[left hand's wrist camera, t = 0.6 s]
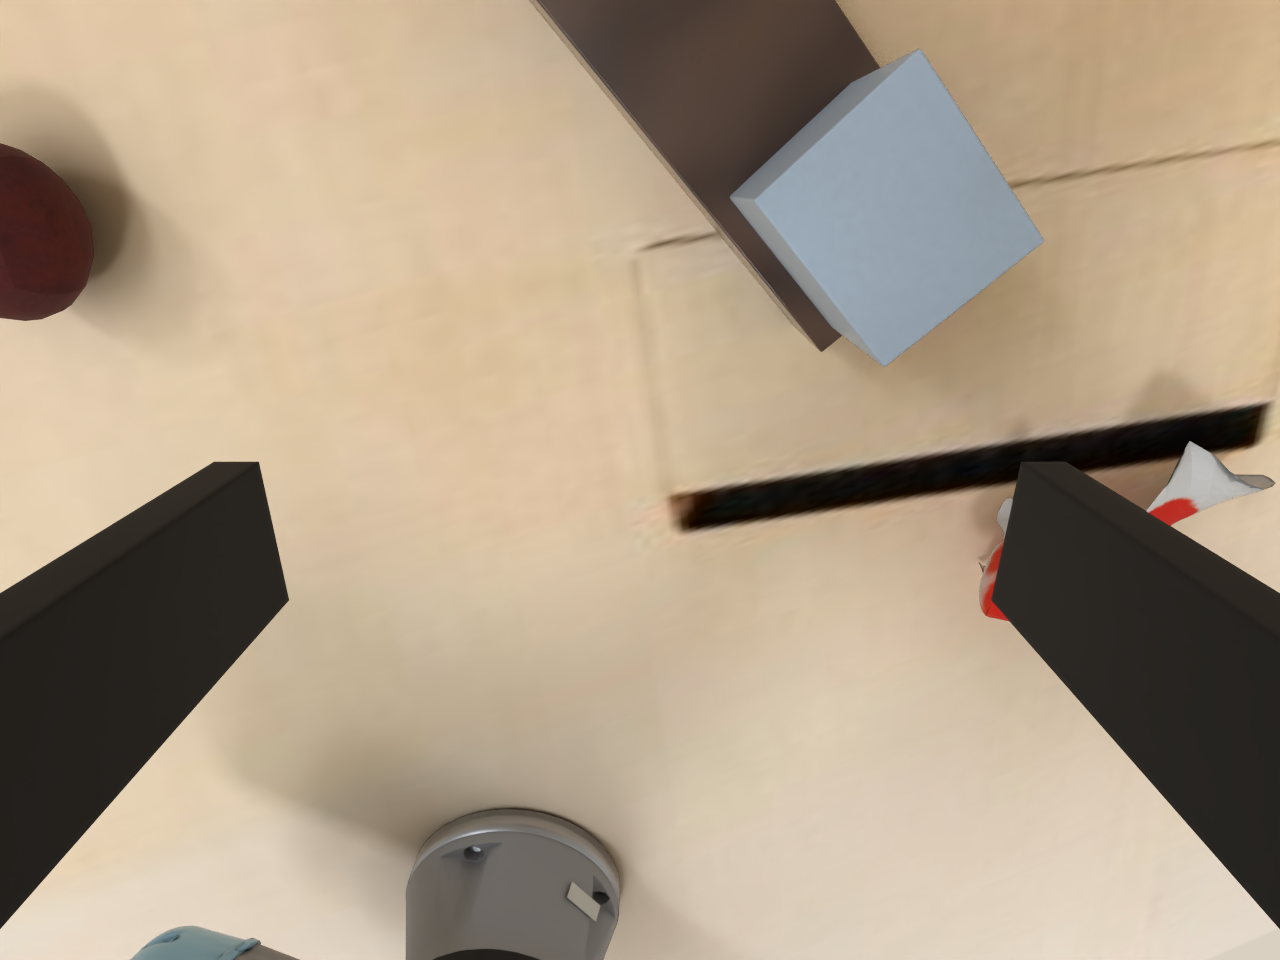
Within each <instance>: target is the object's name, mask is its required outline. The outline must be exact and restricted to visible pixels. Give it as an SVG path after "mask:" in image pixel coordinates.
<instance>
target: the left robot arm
mask: <svg viewBox="0 0 1280 960" xmlns="http://www.w3.org/2000/svg"><path fill="white" fill-rule="evenodd" d="M288 601H289V598H288V593H287V589H286V584H285V580H284V575H283V570H282V566H281V561H280V557H279V552H278V548H277V543H276V538H275V534H274V529H273V525H272V520H271V516H270V511H269V506H268V502H267V497H266V493H265V488H264V484H263V479H262V474H261V470H260V465H259V462H213V463H212V464H210V465H208V466H207V467H205V468H203V469H202V470H200V471H199V472H197V473H195V474H194V475H192V476H190V477H189V478H187V479H186V480H184V481H182V482H181V483H179V484H177V485H176V486H174V487H173V488H171V489H169V490H168V491H166V492H164V493H163V494H161V495H159V496H158V497H156V498H155V499H153V500H151V501H150V502H148V503H146V504H145V505H143V506H142V507H140V508H138V509H137V510H135V511H133V512H132V513H130V514H129V515H127V516H125V517H124V518H122V519H120V520H119V521H117V522H116V523H114V524H112V525H111V526H109V527H107V528H106V529H104V530H103V531H101V532H99V533H98V534H96V535H94V536H93V537H91V538H89V539H88V540H86V541H85V542H83V543H81V544H80V545H78V546H76V547H75V548H73V549H72V550H70V551H68V552H67V553H65V554H63V555H62V556H60V557H59V558H57V559H55V560H54V561H52V562H50V563H49V564H47V565H46V566H44V567H42V568H41V569H39V570H37V571H36V572H34V573H33V574H31V575H29V576H28V577H26V578H24V579H23V580H21V581H19V582H18V583H16V584H15V585H13V586H11V587H10V588H8V589H6V590H5V591H3V592H2V593H0V929H1V928H2V926H3V925H4V924H5V923H6V922H7V921H8V920H9V918H10V917H11V916H12V915H13V914H14V913H15V912H16V910H17V909H18V908H19V907H20V906H21V905H22V904H23V902H24V901H25V900H26V899H27V898H28V897H29V896H30V894H31V893H32V892H33V891H34V890H35V889H36V888H37V887H38V885H39V884H40V883H41V882H42V881H43V880H44V879H45V877H46V876H47V875H48V874H49V873H50V872H51V871H52V869H53V868H54V867H55V866H56V865H57V864H58V863H59V861H60V860H61V859H62V858H63V857H64V856H65V855H66V853H67V852H68V851H69V850H70V849H71V848H72V847H73V846H74V844H75V843H76V842H77V841H78V840H79V839H80V838H81V836H82V835H83V834H84V833H85V832H86V831H87V830H88V828H89V827H90V826H91V825H92V824H93V823H94V822H95V820H96V819H97V818H98V817H99V816H100V815H101V814H102V812H103V811H104V810H105V809H106V808H107V807H108V806H109V805H110V803H111V802H112V801H113V800H114V799H115V798H116V797H117V795H118V794H119V793H120V792H121V791H122V790H123V789H124V787H125V786H126V785H127V784H128V783H129V782H130V781H131V779H132V778H133V777H134V776H135V775H136V774H137V773H138V771H139V770H140V769H141V768H142V767H143V766H144V765H145V764H146V762H147V761H148V760H149V759H150V758H151V757H152V756H153V754H154V753H155V752H156V751H157V750H158V749H159V748H160V746H161V745H162V744H163V743H164V742H165V741H166V740H167V738H168V737H169V736H170V735H171V734H172V733H173V732H174V730H175V729H176V728H177V727H178V726H179V725H180V724H181V722H182V721H183V720H184V719H185V718H186V717H187V716H188V715H189V713H190V712H191V711H192V710H193V709H194V708H195V707H196V705H197V704H198V703H199V702H200V701H201V700H202V699H203V697H204V696H205V695H206V694H207V693H208V692H209V691H210V689H211V688H212V687H213V686H214V685H215V684H216V683H217V681H218V680H219V679H220V678H221V677H222V676H223V675H224V674H225V672H226V671H227V670H228V669H229V668H230V667H231V666H232V664H233V663H234V662H235V661H236V660H237V659H238V658H239V656H240V655H241V654H242V653H243V652H244V651H245V650H246V648H247V647H248V646H249V645H250V644H251V643H252V642H253V640H254V639H255V638H256V637H257V636H258V635H259V634H260V633H261V631H262V630H263V629H264V628H265V627H266V626H267V625H268V623H269V622H270V621H271V620H272V619H273V618H274V617H275V615H276V614H277V613H278V612H279V611H280V610H281V609H282V607H283V606H284V605H285V604H286V603H287V602H288ZM991 601H992V602H993V603H994V604H995V605H996V606H997V607H998V609H999V610H1000V611H1001V612H1002V613H1003V614H1004V615H1005V617H1006V618H1007V619H1008V620H1009V621H1010V622H1011V623H1012V625H1013V626H1014V627H1015V628H1016V629H1017V630H1018V631H1019V633H1020V634H1021V635H1022V636H1023V637H1024V638H1025V639H1026V640H1027V642H1028V643H1029V644H1030V645H1031V646H1032V647H1033V648H1034V650H1035V651H1036V652H1037V653H1038V654H1039V655H1040V656H1041V658H1042V659H1043V660H1044V661H1045V662H1046V663H1047V664H1048V666H1049V667H1050V668H1051V669H1052V670H1053V671H1054V672H1055V674H1056V675H1057V676H1058V677H1059V678H1060V679H1061V680H1062V681H1063V683H1064V684H1065V685H1066V686H1067V687H1068V688H1069V689H1070V691H1071V692H1072V693H1073V694H1074V695H1075V696H1076V697H1077V699H1078V700H1079V701H1080V702H1081V703H1082V704H1083V705H1084V707H1085V708H1086V709H1087V710H1088V711H1089V712H1090V713H1091V715H1092V716H1093V717H1094V718H1095V719H1096V720H1097V721H1098V722H1099V724H1100V725H1101V726H1102V727H1103V728H1104V729H1105V730H1106V732H1107V733H1108V734H1109V735H1110V736H1111V737H1112V738H1113V740H1114V741H1115V742H1116V743H1117V744H1118V745H1119V746H1120V748H1121V749H1122V750H1123V751H1124V752H1125V753H1126V754H1127V756H1128V757H1129V758H1130V759H1131V760H1132V761H1133V762H1134V764H1135V765H1136V766H1137V767H1138V768H1139V769H1140V770H1141V771H1142V773H1143V774H1144V775H1145V776H1146V777H1147V778H1148V779H1149V781H1150V782H1151V783H1152V784H1153V785H1154V786H1155V787H1156V789H1157V790H1158V791H1159V792H1160V793H1161V794H1162V795H1163V797H1164V798H1165V799H1166V800H1167V801H1168V802H1169V803H1170V805H1171V806H1172V807H1173V808H1174V809H1175V810H1176V811H1177V812H1178V814H1179V815H1180V816H1181V817H1182V818H1183V819H1184V820H1185V822H1186V823H1187V824H1188V825H1189V826H1190V827H1191V828H1192V830H1193V831H1194V832H1195V833H1196V834H1197V835H1198V836H1199V838H1200V839H1201V840H1202V841H1203V842H1204V843H1205V844H1206V846H1207V847H1208V848H1209V849H1210V850H1211V851H1212V852H1213V853H1214V855H1215V856H1216V857H1217V858H1218V859H1219V860H1220V861H1221V863H1222V864H1223V865H1224V866H1225V867H1226V868H1227V869H1228V871H1229V872H1230V873H1231V874H1232V875H1233V876H1234V877H1235V879H1236V880H1237V881H1238V882H1239V883H1240V884H1241V885H1242V887H1243V888H1244V889H1245V890H1246V891H1247V892H1248V893H1249V894H1250V896H1251V897H1252V898H1253V899H1254V900H1255V901H1256V902H1257V904H1258V905H1259V906H1260V907H1261V908H1262V909H1263V910H1264V912H1265V913H1266V914H1267V915H1268V916H1269V917H1270V918H1271V920H1272V921H1273V922H1274V923H1275V924H1276V925H1277V926H1278V928H1279V929H1280V593H1278V592H1277V591H1275V590H1274V589H1272V588H1270V587H1269V586H1267V585H1265V584H1264V583H1262V582H1261V581H1259V580H1257V579H1256V578H1254V577H1252V576H1251V575H1249V574H1247V573H1246V572H1244V571H1243V570H1241V569H1239V568H1238V567H1236V566H1234V565H1233V564H1231V563H1230V562H1228V561H1226V560H1225V559H1223V558H1221V557H1220V556H1218V555H1217V554H1215V553H1213V552H1212V551H1210V550H1208V549H1207V548H1205V547H1204V546H1202V545H1200V544H1199V543H1197V542H1195V541H1194V540H1192V539H1191V538H1189V537H1187V536H1186V535H1184V534H1182V533H1181V532H1179V531H1177V530H1176V529H1174V528H1173V527H1171V526H1169V525H1168V524H1166V523H1164V522H1163V521H1161V520H1160V519H1158V518H1156V517H1155V516H1153V515H1151V514H1150V513H1148V512H1147V511H1145V510H1143V509H1142V508H1140V507H1138V506H1137V505H1135V504H1134V503H1132V502H1130V501H1129V500H1127V499H1125V498H1124V497H1122V496H1121V495H1119V494H1117V493H1116V492H1114V491H1112V490H1111V489H1109V488H1107V487H1106V486H1104V485H1103V484H1101V483H1099V482H1098V481H1096V480H1094V479H1093V478H1091V477H1090V476H1088V475H1086V474H1085V473H1083V472H1081V471H1080V470H1078V469H1077V468H1075V467H1073V466H1072V465H1070V464H1068V463H1067V462H1021V465H1020V470H1019V474H1018V479H1017V484H1016V488H1015V493H1014V497H1013V502H1012V506H1011V511H1010V516H1009V520H1008V525H1007V529H1006V534H1005V538H1004V543H1003V548H1002V552H1001V557H1000V561H999V566H998V570H997V575H996V580H995V584H994V589H993V593H992V598H991ZM619 897H620V881H619V875H618V871H617V868H616V866H615V864H614V862H613V860H612V858H611V856H610V855H609V854H608V852H607V851H606V849H605V848H604V847H603V846H602V845H601V844H600V843H599V842H598V841H597V840H596V839H595V838H594V837H592V836H591V835H590V834H588V833H587V832H586V831H584V830H582V829H581V828H579V827H577V826H575V825H574V824H572V823H570V822H567V821H565V820H563V819H560V818H557V817H554V816H551V815H548V814H544V813H540V812H534V811H529V810H519V809H498V810H489V811H483V812H478V813H474V814H470V815H466V816H464V817H461V818H459V819H456V820H454V821H452V822H450V823H448V824H447V825H445V826H443V827H442V828H440V829H439V830H438V831H436V832H435V833H434V834H433V835H432V836H431V837H430V838H429V839H428V840H427V841H426V842H425V844H424V845H423V846H422V848H421V850H420V851H419V853H418V856H417V858H416V861H415V864H414V867H413V870H412V872H411V875H410V878H409V881H408V885H407V890H406V960H603V959H604V956H605V954H606V951H607V948H608V946H609V943H610V941H611V938H612V935H613V933H614V930H615V928H616V925H617V921H618V916H619ZM260 944H261V942H260V941H258V940H257V939H254V938H250V939H247V940H244V939H240V938H236V937H233V936H229V935H225V934H222V933H218V932H214V931H211V930H208V929H205V928H201V927H198V926H182V927H177V928H174V929H171V930H168V931H166V932H164V933H162V934H161V935H159V936H158V937H156V938H154V939H153V940H152V941H150V942H149V943H148V944H147V945H146V946H144V947H143V948H142V949H141V950H140V951H139V952H138V953H137V954H136V955H135V956H134V957H133V958H132V959H131V960H299V959H296V958H294V957H291V956H289V955H286V954H283V953H281V952H278V951H276V950H273V949H270V948H268V947H265V946H262V945H260Z"/></svg>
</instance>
